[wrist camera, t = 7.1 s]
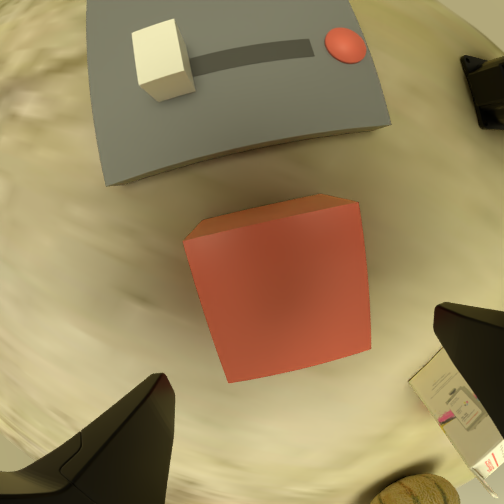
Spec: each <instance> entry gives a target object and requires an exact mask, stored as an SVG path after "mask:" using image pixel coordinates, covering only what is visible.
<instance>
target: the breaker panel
mask: <svg viewBox="0 0 504 504" xmlns="http://www.w3.org/2000/svg"><path fill="white" fill-rule="evenodd" d="M171 19H174V20H175V22H176V24H177V26H178V29H179V31H180V33H181V35H182V38H183V40H184V42H185V44H186V48H187V53H188V58H189V62H190V67H191V72H192V76H193V81H194V86H195V90H196V91H195V92H191V93H188V94H184V95H181V96H177V97H174V98H171V99H168V100H164V101H161V102H158V101H156V100H155V99H154V98H153V97H152V96H151V95H150V94H148V93H147V92H146V91H145V90H144V89H143V88H141V87H140V86H139V84H138V77H137V71H136V64H135V56H134V49H133V41H132V33H133V32H135V31H138V30H141V29H143V28H146V27H149V26H152V25H155V24H158V23H161V22H164V21H167V20H171ZM86 37H87V61H88V75H89V87H90V96H91V105H92V113H93V120H94V127H95V133H96V139H97V145H98V150H99V156H100V161H101V166H102V171H103V176H104V180H105V185H106V187H107V186H118V185H125V184H128V183H131V182H134V181H137V180H140V179H143V178H146V177H149V176H153V175H156V174H159V173H162V172H166V171H169V170H172V169H176V168H179V167H183V166H187V165H190V164H194V163H198V162H201V161H205V160H209V159H213V158H217V157H221V156H225V155H230V154H234V153H238V152H243V151H247V150H252V149H257V148H261V147H266V146H271V145H277V144H282V143H287V142H293V141H299V140H305V139H311V138H317V137H324V136H331V135H339V134H346V133H355V132H364V131H373V130H376V129H379V128H383V127H386V126H389V125H391V121H390V117H389V113H388V109H387V105H386V102H385V98H384V95H383V91H382V88H381V84H380V81H379V78H378V75H377V72H376V69H375V66H374V63H373V60H372V57H371V54H370V51H369V49H368V46H367V43H366V41H365V38H364V35H363V33H362V30H361V28H360V26H359V23H358V21H357V19H356V16H355V14H354V12H353V10H352V7H351V5H350V3H349V1H348V0H87V11H86Z"/></svg>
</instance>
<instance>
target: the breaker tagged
mask: <svg viewBox="0 0 504 504" xmlns="http://www.w3.org/2000/svg"><path fill="white" fill-rule="evenodd" d="M132 41H133V49H134V56H135V64H136V71H137V77H138V84H139V86H140V87H141V88H143V89H144V90H145V91H146V92H147V93H148V94H150V95H151V96H152V97H153V98H154V99H155V100H156V101H158V102H161V101H164V100H168V99H171V98H174V97H177V96H181V95H184V94H188V93H191V92H195V91H196V90H195V86H194V81H193V76H192V72H191V67H190V62H189V58H188V53H187V48H186V44H185V42H184V40H183V38H182V35H181V33H180V31H179V29H178V26H177V24H176V22H175V20H174V19H171V20H167V21H164V22H161V23H158V24H155V25H152V26H149V27H146V28H143V29H141V30H138V31H135V32H133V33H132Z"/></svg>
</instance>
